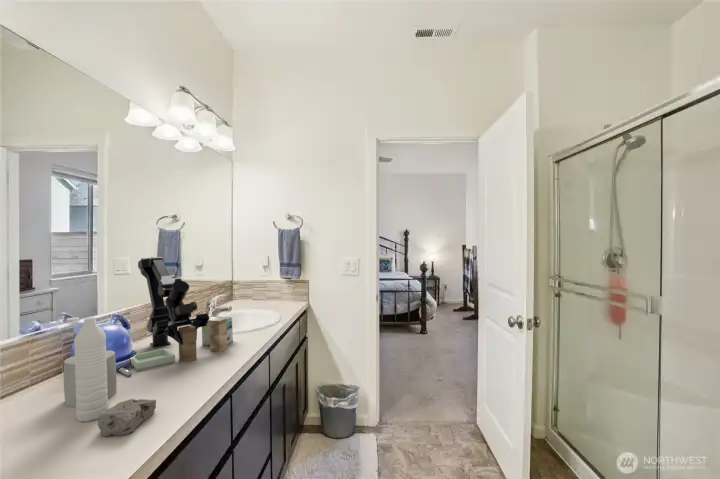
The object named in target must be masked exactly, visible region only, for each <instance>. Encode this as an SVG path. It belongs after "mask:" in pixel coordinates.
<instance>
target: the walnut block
mask: <svg viewBox="0 0 720 479" xmlns="http://www.w3.org/2000/svg"><path fill="white" fill-rule="evenodd" d="M177 328H178V332H179V334H180V336H181V339H182V342H183V344H182V345H180V344H179V343H178V361H180V362H182V363H183V364H185V363H189V362H193V361H197V355H198V354H197V340H196V327H194V326H192V325H186V326H181V327H177Z"/></svg>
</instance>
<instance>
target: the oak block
mask: <svg viewBox="0 0 720 479" xmlns="http://www.w3.org/2000/svg"><path fill="white" fill-rule="evenodd" d="M209 346H210V347H209V348H210V349H209V350H210V352H222V351H224V350H227V349H228V344H227V319H226V318H216V319H213V320H210V345H209Z"/></svg>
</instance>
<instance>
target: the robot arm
mask: <svg viewBox="0 0 720 479" xmlns="http://www.w3.org/2000/svg"><path fill="white" fill-rule="evenodd" d="M164 261H165V260H164V257H163V256H162V257H161V256H151V257H143V258H141V259H140V260H139V261H138V262H137V267H138V269H139V271H140V275H141V276H143V277H144V278H145V279H146V282H147V288H148V293H149V298H150V302H151V308H152V310H151V312H150V314H149V319H148V321H147V325H146V330H147V332H148V333H150V334H152V342H151V343H150V342H149V343H150V346H151V347H152V348H158V347H163V346H168V345H171V344H172V343H171V342H170V341H169V337H170V338H171V339H173V340H174V341H175V342H177V343H178V345H179V344H180V345H182V344H183V342H182V339H181V336H180V334H179V332H178V328H179V327H184V326H189V325H192V326H194V327H196V341H197V337H198V336H197V335H198V329H199V328H202V327H204V326H206V324H207V322H208V320H209V318H210V317H211V316H210V315H209V314H208V313H207V312H203V313H197V314H196V316H195V318H191V317H192V313H193V312H194V311H196V310H198V305H197V302H196V301H191V302H189V303H184V301H183V300H185V299H186V296H187V294H188V292H189V289H190V285H189V283H188V282H187V281H185V280H182V279H181V278H174V277H172V276H171V274H170V272H169V270H168V268H167V267H166V265H165V262H164ZM165 298H166V299H165ZM164 299H165V300H164Z"/></svg>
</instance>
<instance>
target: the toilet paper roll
mask: <svg viewBox="0 0 720 479" xmlns="http://www.w3.org/2000/svg"><path fill="white" fill-rule="evenodd" d="M106 361H107V362H106V364H107V372H106V373H107V389H108V393H107V395H108V400H109V399H112V398H113V397H114V396H115V395H116V394H117V388H118V387H117V386H118V384H117V382H118V381H117V379H118V378H117V360H116V352H115V351H114V350H107V349H106ZM75 366H76V365H75V355H73V356H70V357H68V358H66V359H65V360H64V361H63V393H64V405H65V406H67V407H69V408H70V407H72V408H76V402H77V401H76V383H75V381H76V377H75V369H76V368H75Z"/></svg>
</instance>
